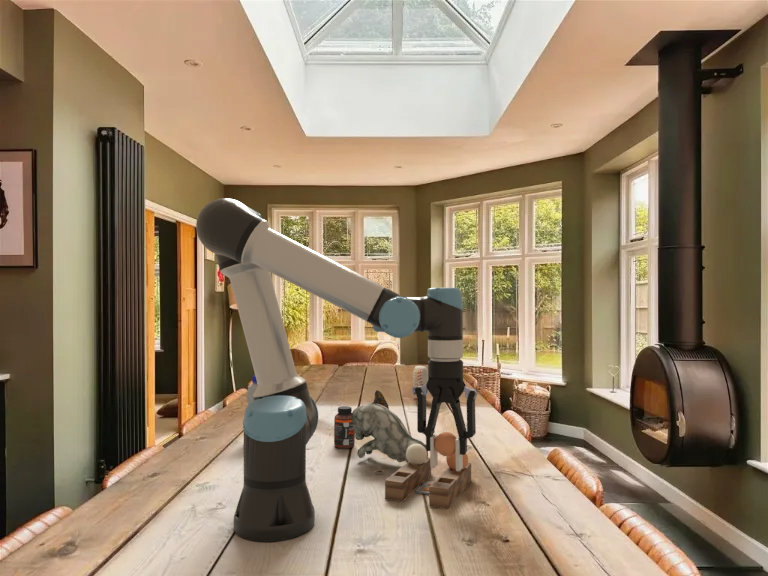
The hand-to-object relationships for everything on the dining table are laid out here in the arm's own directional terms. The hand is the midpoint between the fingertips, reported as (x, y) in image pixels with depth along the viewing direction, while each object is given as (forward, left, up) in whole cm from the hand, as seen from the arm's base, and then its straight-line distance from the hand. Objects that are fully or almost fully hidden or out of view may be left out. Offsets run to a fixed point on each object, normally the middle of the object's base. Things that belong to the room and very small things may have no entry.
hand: (446, 467), depth 117 cm
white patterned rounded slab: (+99, +41, -7) cm, 107 cm away
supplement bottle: (+27, +39, -7) cm, 48 cm away
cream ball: (+9, +10, -1) cm, 14 cm away
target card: (+4, +5, -7) cm, 10 cm away
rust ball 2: (+9, 0, -1) cm, 9 cm away
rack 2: (+4, 0, -7) cm, 8 cm away
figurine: (+18, +21, -6) cm, 29 cm away
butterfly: (+59, +41, -7) cm, 73 cm away
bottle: (+21, +65, -7) cm, 69 cm away
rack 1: (+4, +10, -7) cm, 13 cm away
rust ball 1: (0, 0, +5) cm, 5 cm away
